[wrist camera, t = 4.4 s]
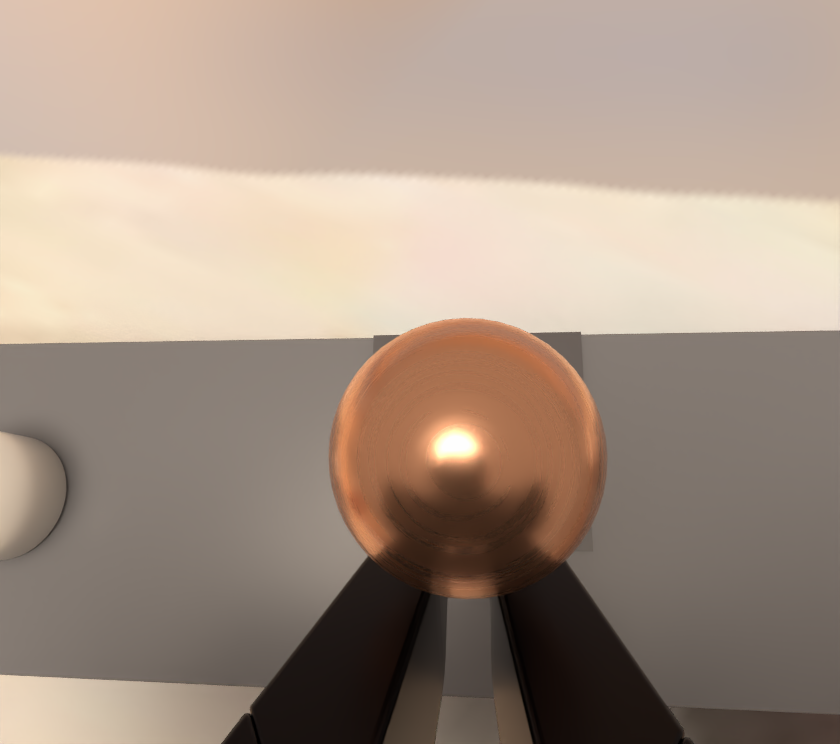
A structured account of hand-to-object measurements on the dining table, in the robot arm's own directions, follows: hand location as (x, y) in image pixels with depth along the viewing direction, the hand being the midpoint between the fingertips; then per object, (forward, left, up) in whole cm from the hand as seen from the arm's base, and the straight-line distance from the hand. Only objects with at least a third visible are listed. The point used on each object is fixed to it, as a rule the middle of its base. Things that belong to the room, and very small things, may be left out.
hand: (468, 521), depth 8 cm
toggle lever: (+1, -1, -6) cm, 6 cm away
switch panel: (0, 0, -9) cm, 9 cm away
